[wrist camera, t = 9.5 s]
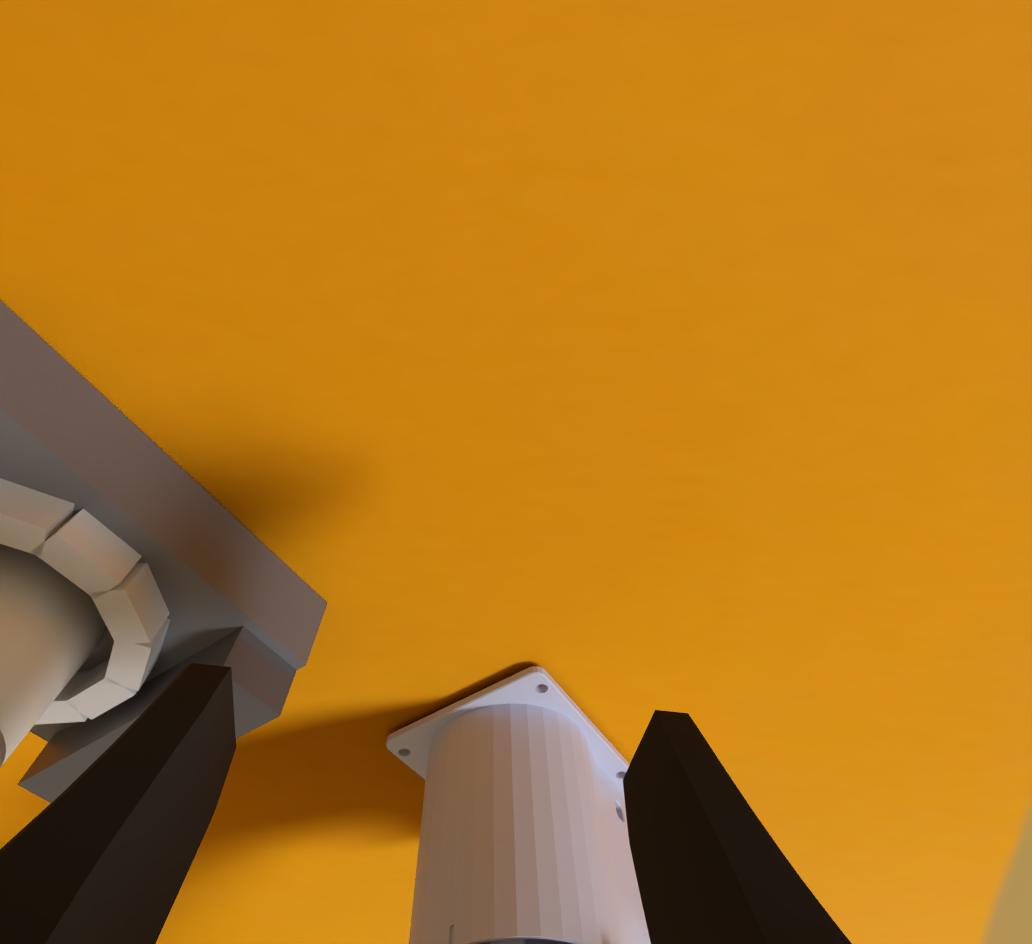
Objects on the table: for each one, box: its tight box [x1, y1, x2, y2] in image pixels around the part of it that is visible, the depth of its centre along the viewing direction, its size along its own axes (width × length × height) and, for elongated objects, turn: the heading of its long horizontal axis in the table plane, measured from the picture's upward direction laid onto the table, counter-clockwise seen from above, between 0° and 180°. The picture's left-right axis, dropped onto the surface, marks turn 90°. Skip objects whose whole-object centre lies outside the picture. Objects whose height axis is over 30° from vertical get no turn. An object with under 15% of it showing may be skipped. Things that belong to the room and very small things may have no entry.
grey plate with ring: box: [0, 300, 327, 803], centre depth 18 cm, size 14×10×5 cm
